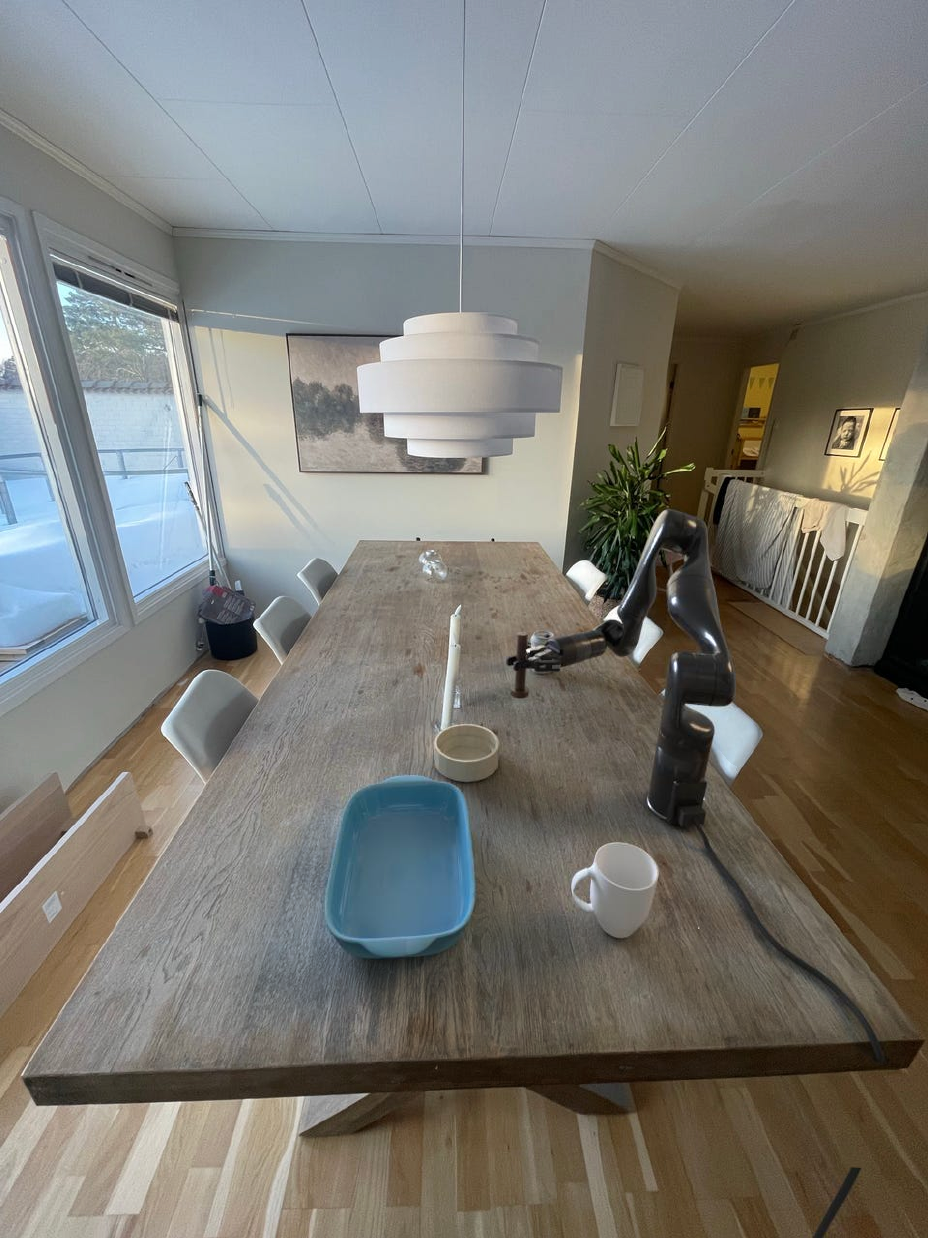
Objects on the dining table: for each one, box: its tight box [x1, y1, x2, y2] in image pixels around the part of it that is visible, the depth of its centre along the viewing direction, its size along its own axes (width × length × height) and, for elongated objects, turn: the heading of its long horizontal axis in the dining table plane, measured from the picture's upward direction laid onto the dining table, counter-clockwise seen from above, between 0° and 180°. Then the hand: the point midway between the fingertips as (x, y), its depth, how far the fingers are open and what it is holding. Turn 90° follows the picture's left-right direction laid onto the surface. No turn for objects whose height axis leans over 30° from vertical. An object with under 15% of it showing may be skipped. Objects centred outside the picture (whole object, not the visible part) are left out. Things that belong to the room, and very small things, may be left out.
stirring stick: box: [510, 631, 530, 699], centre depth 122 cm, size 4×4×16 cm
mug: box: [570, 841, 660, 939], centre depth 76 cm, size 12×9×12 cm
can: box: [530, 630, 555, 675], centre depth 155 cm, size 8×8×12 cm
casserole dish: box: [323, 774, 476, 959], centre depth 84 cm, size 37×22×7 cm, turn 4°
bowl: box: [433, 723, 500, 783], centre depth 114 cm, size 14×14×6 cm
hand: (511, 664), depth 121 cm, fingers closed on stirring stick, 2 cm apart
